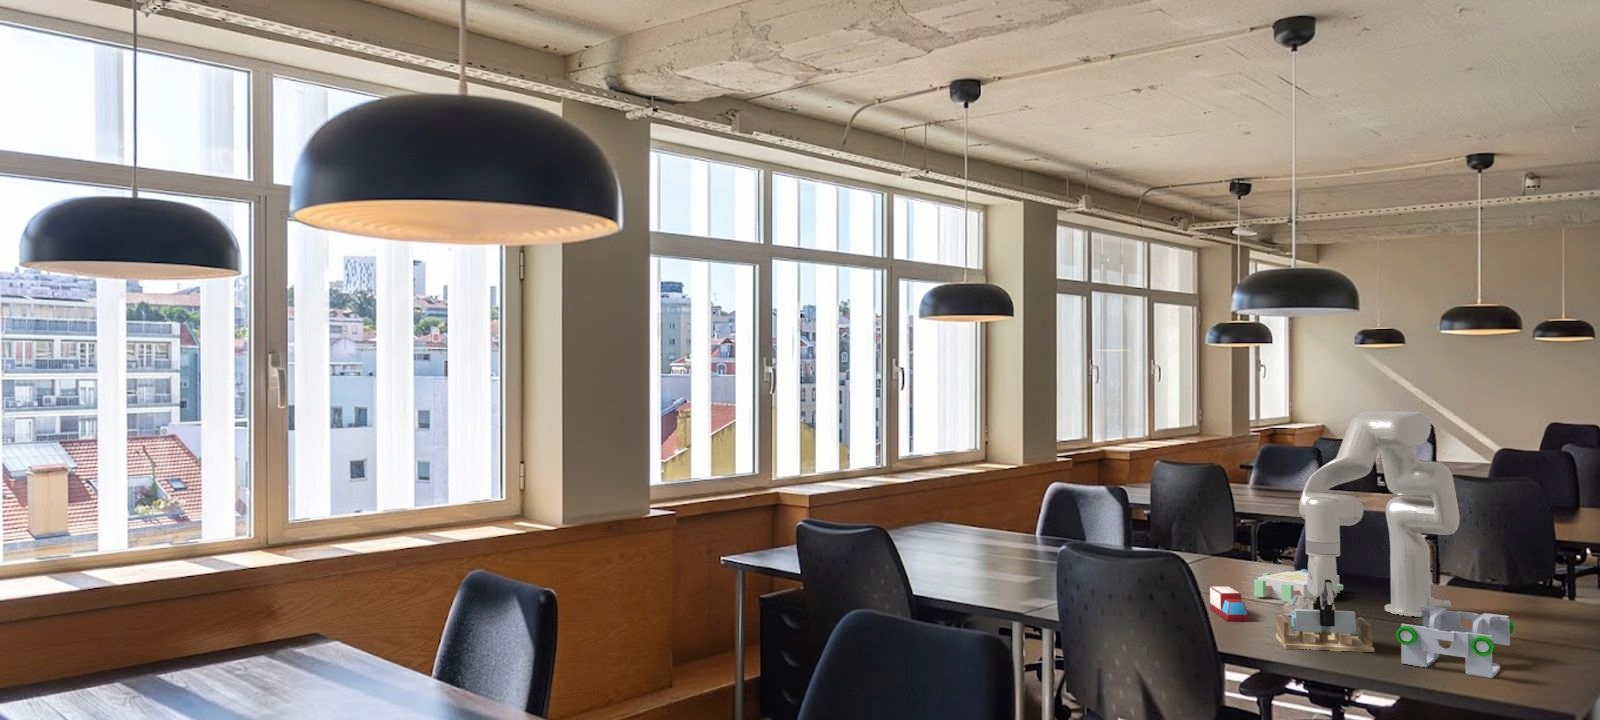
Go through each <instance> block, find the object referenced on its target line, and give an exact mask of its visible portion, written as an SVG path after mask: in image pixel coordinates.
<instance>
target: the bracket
mask: <svg viewBox="0 0 1600 720" xmlns="http://www.w3.org/2000/svg"><path fill="white" fill-rule="evenodd" d="M1421 611H1422V617H1421V621H1422V622H1423V625H1415V624H1414V625H1413V624H1408V623H1407V624H1406V623H1401V624H1400V628H1398V629H1397V630H1396V632H1395V637H1396V640H1397V641H1398V642H1399V644H1401V645H1400V646H1401V647H1400V649H1401V652H1400V653H1401V665H1402V664H1408V665H1413V666H1412V667H1414V666H1420V667H1419V668H1421V667H1425V668H1424V669H1427V668H1428V667H1427V666H1429V665H1430V664H1431V663H1432V662H1433V663H1434V662H1436V661H1437V660H1438V659H1439V658H1440V655H1446V656H1453V657H1458V658H1459V657H1460V658H1464V661H1465V663H1464V664H1465V665H1464V666H1465V668H1464V669H1465V671H1464V672H1465V675H1466V674H1467V676H1475V677H1480V678H1481V677H1482V678H1486V679H1487V678H1488V679H1493V678H1494V677H1495V676H1496V675H1497V674H1498V673H1499V672H1500V670H1501V665H1500V664H1498V663H1495V662H1493V652H1494V651H1495V644H1496V645H1503V646H1510V645H1511V637H1510V636H1511V634H1512V633H1514V631H1515V624H1514V622H1513V621H1512V620H1511V619H1510V616H1509V615H1503V614H1495V613H1487V612H1483V613H1482V614H1478V612H1477V613H1476V612H1469V611H1467V612H1466V611H1460V610H1457V611H1453V610H1447V608H1443V607H1430V606H1422V607H1421ZM1462 621H1468V622H1471V628H1470V629H1465V628H1463V626H1462V625H1461V624H1462V623H1461V622H1462ZM1440 640H1441V641H1447V642H1450V645H1449V647H1443V646H1442V645H1441V644H1440ZM1438 657H1439V658H1438ZM1437 658H1438V659H1437ZM1436 659H1437V660H1436ZM1435 660H1436V661H1435ZM1433 663H1432V664H1433ZM1432 664H1431V665H1432ZM1408 665H1407V666H1408ZM1431 665H1430V666H1431ZM1430 666H1429V667H1430ZM1426 667H1427V668H1426Z"/></svg>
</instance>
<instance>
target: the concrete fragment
mask: <svg viewBox="0 0 1600 720" xmlns="http://www.w3.org/2000/svg"><path fill="white" fill-rule="evenodd" d="M1313 603H1314V602H1313V598H1311V597H1308V598H1307V597H1304V596H1299V595H1295V596H1294V598H1293V599H1292V600H1290V601H1289V602H1287V601H1286V603H1284V605H1283V606H1282V611H1283V615H1284V616H1285V615H1286V616H1285V617H1291V615H1294V609H1309V610H1313ZM1334 610H1336V611H1337V608H1336V606H1335V605H1334Z"/></svg>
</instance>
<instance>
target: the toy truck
mask: <svg viewBox="0 0 1600 720" xmlns="http://www.w3.org/2000/svg"><path fill="white" fill-rule="evenodd" d="M1209 604H1210V605H1209V607H1210V609H1209V610H1210V611H1212V613H1215V614H1216V615H1217V616H1219V617H1220V618H1222V619H1223V620H1224V621H1226V622H1230V623H1231V622H1234V623H1235V622H1237V623H1238V622H1239V623H1240V622H1241V623H1242V622H1244V623H1249V613H1248V610H1247V606H1246V604H1245V602H1244V601H1243V600H1242V594H1241V592H1239V591H1237V590H1236V589H1234V588H1233V587H1230V586H1210V587H1209Z"/></svg>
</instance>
